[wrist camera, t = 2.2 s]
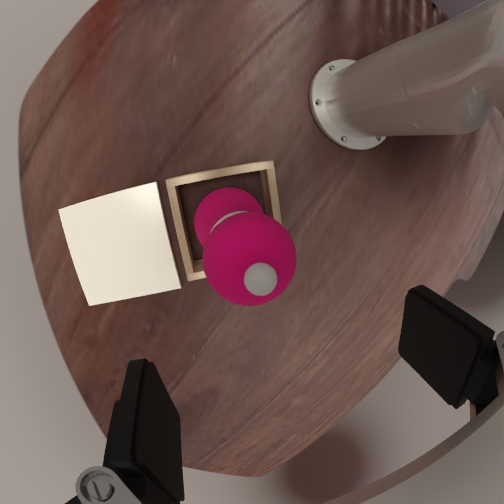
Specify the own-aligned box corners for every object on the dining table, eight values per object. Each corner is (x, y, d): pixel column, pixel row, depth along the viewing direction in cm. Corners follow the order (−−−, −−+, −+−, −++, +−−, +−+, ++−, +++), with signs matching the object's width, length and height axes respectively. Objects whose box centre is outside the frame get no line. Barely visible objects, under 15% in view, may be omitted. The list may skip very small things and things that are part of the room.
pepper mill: (225, 256, 35) (260, 363, 16) (181, 216, 32) (162, 290, 13) (267, 214, 34) (352, 279, 15) (225, 171, 31) (268, 183, 13)
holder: (264, 160, 32) (273, 160, 28) (276, 249, 36) (286, 260, 32) (169, 178, 30) (165, 180, 27) (189, 268, 34) (188, 281, 30)
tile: (157, 181, 30) (156, 181, 29) (181, 284, 35) (181, 288, 34) (61, 208, 29) (58, 209, 28) (91, 302, 33) (89, 305, 32)
